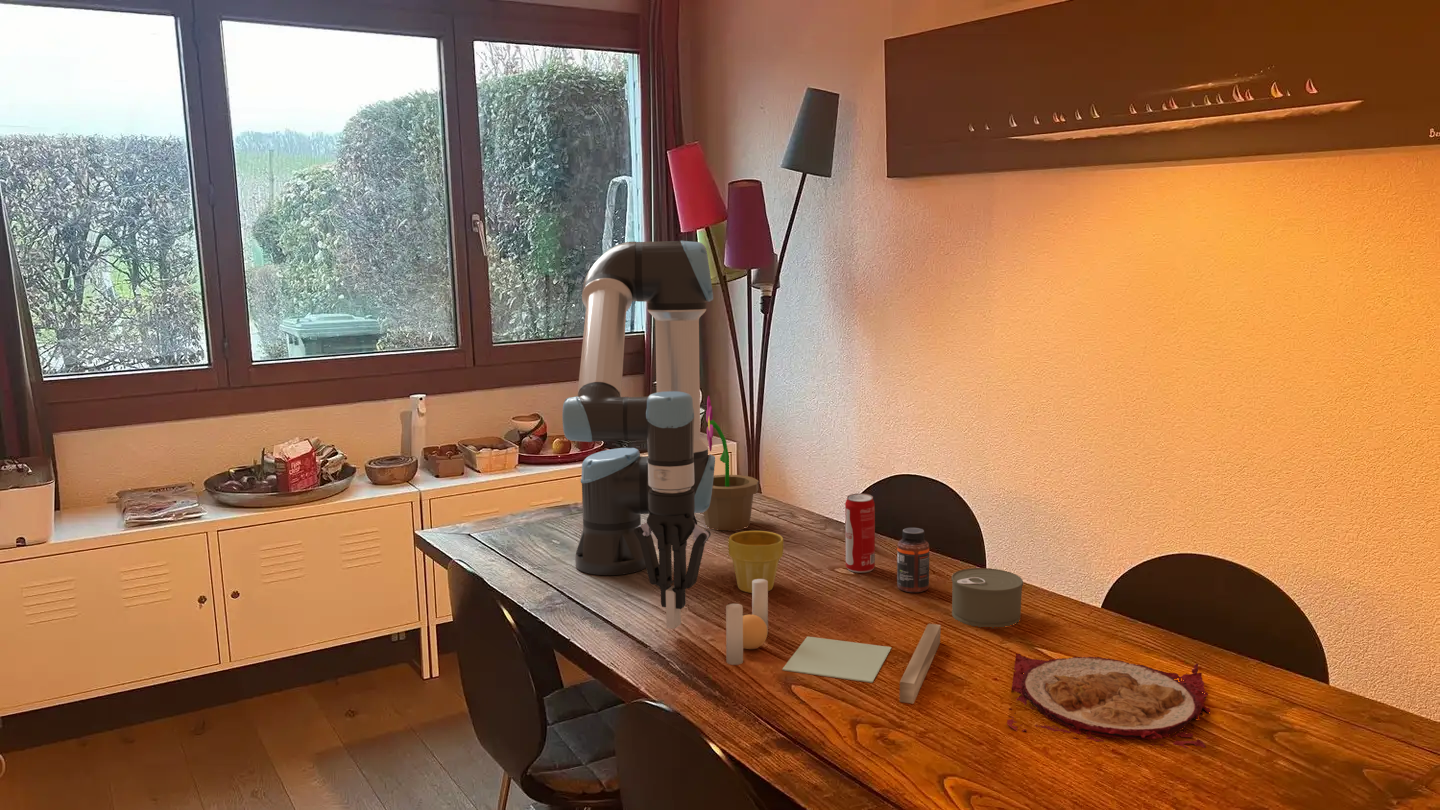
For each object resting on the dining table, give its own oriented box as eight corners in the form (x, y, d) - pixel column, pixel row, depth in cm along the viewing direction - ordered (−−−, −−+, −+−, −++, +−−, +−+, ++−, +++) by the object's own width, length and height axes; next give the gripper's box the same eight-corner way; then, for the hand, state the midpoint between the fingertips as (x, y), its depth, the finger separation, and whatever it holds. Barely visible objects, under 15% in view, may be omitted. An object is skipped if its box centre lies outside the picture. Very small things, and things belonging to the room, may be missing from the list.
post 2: (750, 634, 176) (749, 583, 174) (755, 629, 178) (754, 578, 177) (765, 636, 175) (764, 584, 173) (769, 631, 177) (769, 579, 176)
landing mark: (782, 670, 162) (782, 668, 161) (807, 637, 174) (807, 636, 174) (872, 682, 157) (872, 681, 157) (891, 648, 170) (891, 647, 170)
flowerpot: (693, 518, 249) (692, 392, 244) (754, 515, 250) (753, 390, 245) (699, 534, 235) (697, 401, 230) (763, 532, 236) (762, 400, 231)
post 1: (724, 663, 164) (723, 608, 163) (729, 657, 167) (729, 602, 165) (739, 665, 163) (739, 610, 162) (745, 659, 166) (744, 604, 164)
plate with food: (1015, 665, 165) (1016, 643, 164) (1201, 682, 156) (1202, 659, 156) (1005, 738, 142) (1006, 713, 141) (1222, 763, 133) (1223, 736, 133)
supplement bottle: (932, 585, 199) (933, 527, 198) (924, 595, 194) (925, 536, 192) (901, 581, 202) (902, 524, 200) (892, 591, 197) (893, 532, 195)
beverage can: (874, 564, 212) (875, 492, 210) (875, 574, 206) (876, 500, 204) (844, 563, 213) (845, 491, 211) (844, 574, 207) (845, 499, 204)
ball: (739, 659, 168) (722, 629, 168) (749, 646, 173) (733, 616, 173) (768, 647, 166) (751, 616, 166) (777, 634, 171) (761, 604, 171)
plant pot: (789, 581, 203) (789, 532, 201) (774, 599, 193) (774, 547, 191) (738, 576, 206) (738, 528, 204) (721, 593, 196) (720, 542, 195)
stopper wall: (899, 701, 150) (899, 681, 150) (927, 641, 172) (928, 623, 172) (913, 703, 150) (913, 683, 149) (940, 642, 172) (940, 624, 171)
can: (1035, 624, 179) (1037, 586, 178) (972, 632, 176) (973, 593, 175) (998, 601, 191) (999, 565, 190) (938, 608, 188) (939, 571, 187)
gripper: (624, 489, 170) (628, 629, 174) (700, 496, 165) (701, 639, 169) (644, 479, 177) (647, 613, 181) (717, 485, 172) (718, 623, 176)
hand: (673, 625), depth 175 cm, fingers closed
